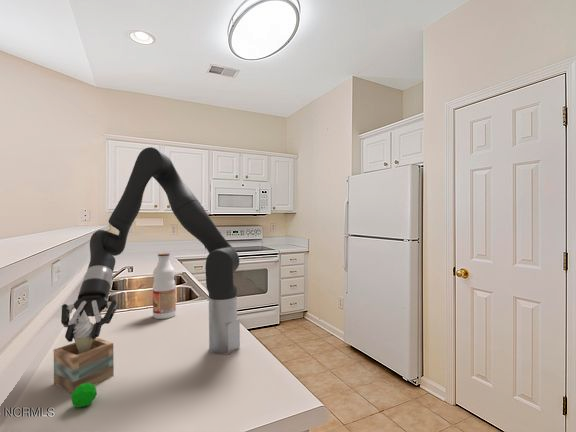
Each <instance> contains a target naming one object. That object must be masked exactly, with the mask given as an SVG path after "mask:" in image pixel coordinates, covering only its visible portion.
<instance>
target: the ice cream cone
mask: <svg viewBox="0 0 576 432" xmlns="http://www.w3.org/2000/svg"><path fill="white" fill-rule="evenodd" d="M78 321H79V322H78V324H77V326H76V327H75V328H74V330H75V331H74V332H73V334H74V336H73V341H74V343H76V346H77V349H78V351H79V354H80V353H83V352H85V351H88V350H90V348H91V344H92V341H93V339H92V338H91V334H92V330H93V326H94V323H92V322H91V320H90V317H89V316H87V315H86V313H85V311H84V310H83V313H82V315H81V317H80V319H79V320H78Z"/></svg>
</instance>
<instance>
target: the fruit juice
mask: <svg viewBox="0 0 576 432" xmlns="http://www.w3.org/2000/svg"><path fill="white" fill-rule="evenodd" d="M170 256H171V253H170V252H159V253H158V254H157V257H158V261H157V265H156V267H155V268H154V269H153V272H152V276H153V283H152V316H153V319H157V320H158V319H159V320H164V319H169V318H172V317H174V316H176V314H177V313H176V312H177V308H176V305H177V304H176V300H177V299H176V281H175V276H176V270H175V268H174V267H173V265H172V263H171V261H170Z"/></svg>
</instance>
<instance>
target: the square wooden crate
mask: <svg viewBox="0 0 576 432" xmlns="http://www.w3.org/2000/svg"><path fill="white" fill-rule="evenodd" d="M114 375H115V374H114V343H113V342H112V341H108V340H105V339H102V338H101V337H100V338H99V337H96V339H93V341H92V344H91V348H90V350H88V351H85V352H83V353H80V354H79V351H78V349H77V346H76V343H75V342H73V343H70V344H67V345H64V346H61V347H58V348H55V349H53V385H56V386H57V387H59V388H62V389H63V390H65V391H66V392H68V393H71V394H72V393H73V391H74V390H75V389H76V388H77V387H78V386H80V385H81V384H83V383H92V384H93V385H97V384H98V383H101V382H102V381H105V380H107V379H109V378H111V377H114Z"/></svg>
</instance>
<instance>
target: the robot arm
mask: <svg viewBox="0 0 576 432" xmlns="http://www.w3.org/2000/svg"><path fill="white" fill-rule="evenodd" d="M152 178H154V180H155V181H156V182H157V183H158V184H159V186H160V187H161V189H163V191H164V192H165V194H166V197H167V200H168V204H169V206H170V210H171V211H172V213H173V214H174V216H175V218H176V219H177V220H178V222H179V224H180V226H182V228H184V229H185V230H186V231H187V233H190V234H191V235H192V236H193V237H194V238H196V239H197V240H198V241H199V242H200V243H201V244H202V245H203V246H204V247H205V248H206V251H207V252H208V255H207V257H206V260H205V265H204V266H205V284H206V290H207V293H208V336H209V337H208V344H209V345H208V348H209V350H208V351H210V352H211V353H213V354H217V355H218V354H220V355H221V354H223V355H224V354H226V355H229V354H230V353H232V352H234V351H236V350H237V349H240V347H241V336H240V335H241V331H240V329H241V326H240V325H241V323H240V320H241V319H240V318H238V289H237V286H235V284H234V272H236V271H237V269H238V268H239V266H240V258H239V257H240V256H239V255H238V253H237V251H236V250H235V248H233V246H232V245H231V244H230V243H229V242H228V240H227V239H226V238H225V237H224V236H223V235H222V233H221V232H220V230H219V229H218V228H217V226H216V225H215V223H214V221H213V220H212V219H211V217H210V216H209V214H208V212H207V211H206V210H205V209H204V207H203V205H202V203H201V202H200V201H199V200H198V198H197V197H196V196H195V194H194V193H193V192H192V191H191V190H190V188H189V187H188V186H187V185H186V183H185V182H184V181H183V179H182V178H181V176H180V174H179V172H178V171H177V169H176V166H175V165H174V163H173V162H172V160H171V159H170V157H169V156H168V155H167V154H166V153H164V152H162V151H161V150H159V149H158V148H156V147H152V146H151V147H145V148H143V149H142V150H141V151H140V152H139V154H138V156H137V157H136V160H135V161H134V166H133V168H132V171H131V173H130V176H129V179H128V181H127V184H126V187H125V188H124V191H123V193H122V195H121V197H120V199H119V201H118V203H117V205H116V206H115V208H114V210H113V212H112V213H111V215H110V216H109V218H108V224H109V225H110V226H111V227H113V228H115V229H116V230H118V234H116V233H113V232H110V231H108V230H104V229H99V230H95V232H93V233H92V235H91V237H90V239H89V251H90V252H89V253H90V259H89V264H88V267H87V270H86V272H85V273H84V274H85V275H84V277H83V279H82V283H81V286H80V289H79V293H78V295H77V299H76V300H75V301H74V303H72V304H67V303H64V304H62V306H61V321H60V322H61V324H62V325H63V327H64V328H66V331H65V334H64V337H65V340H67V342H68V343H70V342H73V341H74V338H73V336H74V334H73V332H74V331H75V330H74V328H75V327H76V326H77V324H78V322H79V321H78V320H79V319H80V317H81V315H82V313H83V310H84V311H85V313H86V315H87V316H88V317H92V318H94V319H95V323H93V324H94V326H93V330H92V334H91V338H92V339H96V337H97V338H99V336H100V334H101V330H102V327H103V325H106V324H110V323H111V321H112V319H113V317H114V315H115V313H116V311H117V309H118V307H119V306H118V303H117V300H112V301H108V299H109V295H110V291H111V288H112V287H111V286H112V283H113V282H112V281H113V274H114V269H115V267H116V258H115V256H119V255H121V254H122V253H123V252H124V250H125V248H126V244H127V239H128V235H129V232H130V229H131V227H132V225H133V223H134V221H135V220H136V218H137V216H138V215H139V212H140V210H141V207H142V203H143V197H144V193H145V189H146V188H147V186H148V183H149V181H150V180H151V179H152ZM106 308H107V311H106V312H105V314H104V316H102V313H101V312H102V311H104V309H106ZM74 309H75V311H74V313H73V315H72V317H71V318H70V315H71V313H72V312H73V310H74Z"/></svg>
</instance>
